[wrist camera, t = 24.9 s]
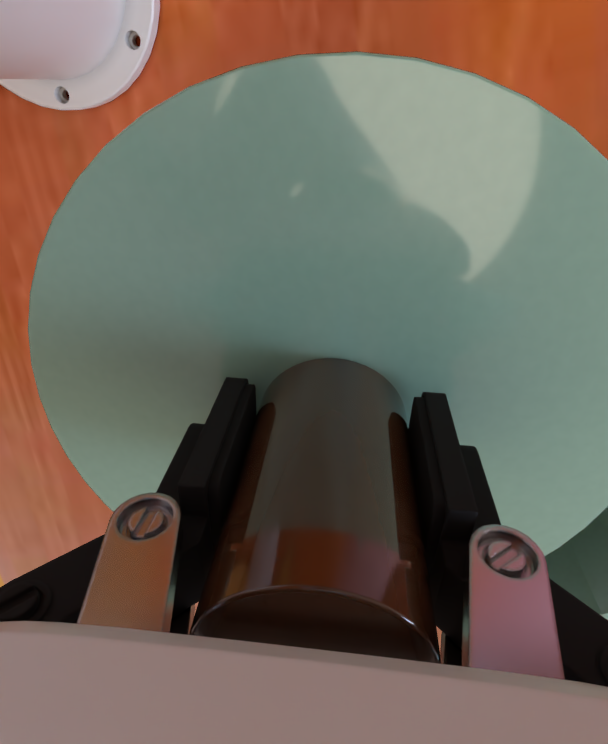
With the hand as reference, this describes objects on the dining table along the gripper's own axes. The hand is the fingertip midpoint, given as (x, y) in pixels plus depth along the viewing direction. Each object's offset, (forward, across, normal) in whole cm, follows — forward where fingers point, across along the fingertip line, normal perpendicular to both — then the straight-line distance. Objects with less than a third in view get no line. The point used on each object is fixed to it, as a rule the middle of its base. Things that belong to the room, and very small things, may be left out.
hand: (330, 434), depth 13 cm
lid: (+1, 0, 0) cm, 1 cm away
